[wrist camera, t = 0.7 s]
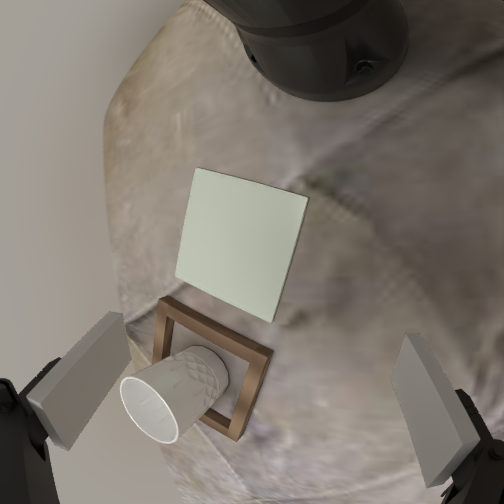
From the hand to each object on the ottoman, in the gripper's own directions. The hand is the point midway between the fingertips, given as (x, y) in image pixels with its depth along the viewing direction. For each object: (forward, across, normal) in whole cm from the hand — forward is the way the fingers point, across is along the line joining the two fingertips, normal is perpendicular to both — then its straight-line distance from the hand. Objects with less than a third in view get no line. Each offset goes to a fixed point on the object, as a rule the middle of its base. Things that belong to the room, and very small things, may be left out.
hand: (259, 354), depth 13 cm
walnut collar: (+16, -7, -16) cm, 24 cm away
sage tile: (+17, -4, 0) cm, 17 cm away
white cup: (+16, -7, -16) cm, 24 cm away
